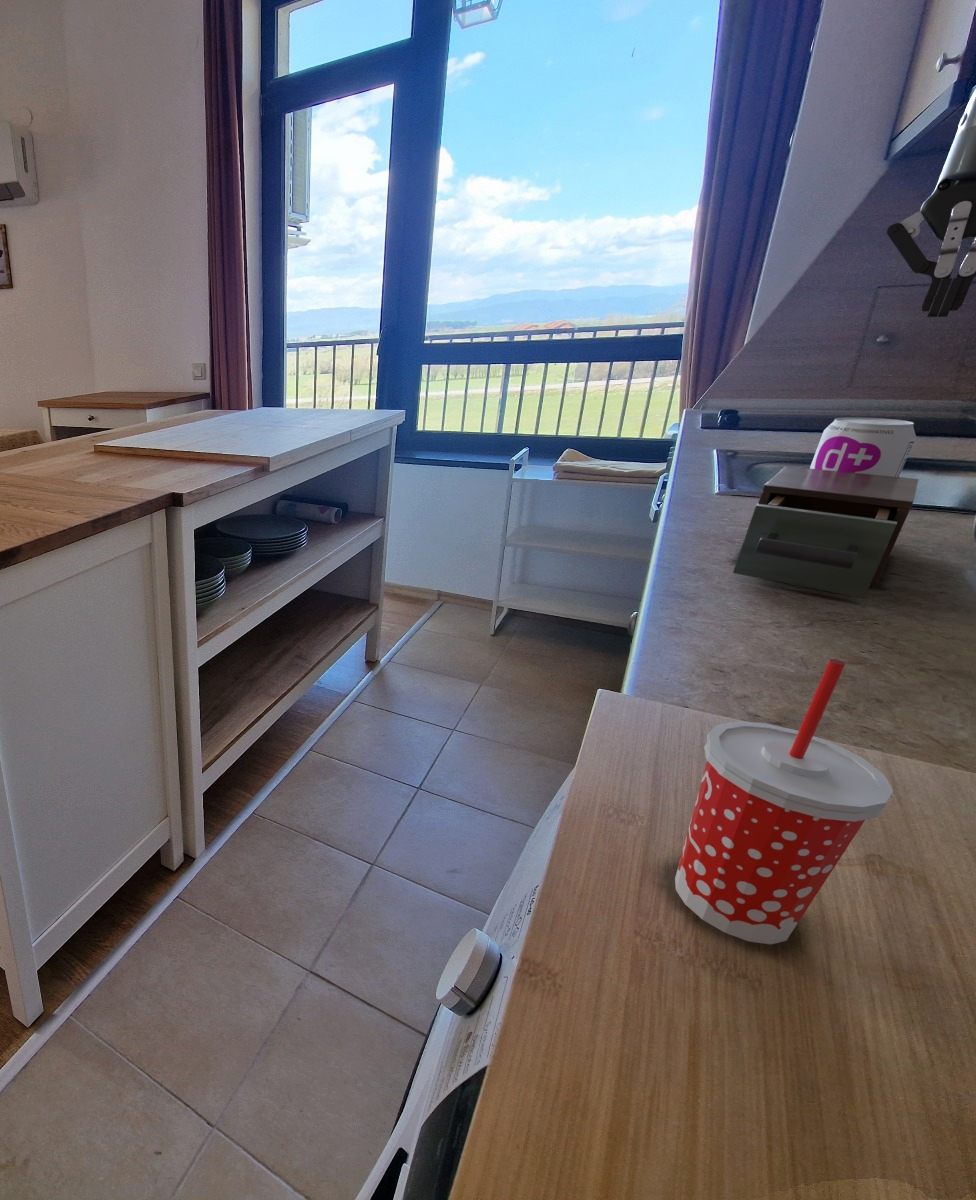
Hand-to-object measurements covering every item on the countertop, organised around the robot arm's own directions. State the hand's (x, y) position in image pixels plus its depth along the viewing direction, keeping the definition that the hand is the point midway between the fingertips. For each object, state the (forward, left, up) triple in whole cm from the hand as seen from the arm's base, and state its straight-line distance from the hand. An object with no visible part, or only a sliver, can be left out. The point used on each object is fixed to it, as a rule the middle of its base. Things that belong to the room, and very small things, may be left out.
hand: (936, 316), depth 67 cm
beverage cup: (+45, +59, -27) cm, 79 cm away
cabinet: (+5, +2, -27) cm, 27 cm away
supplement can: (-4, -9, -27) cm, 29 cm away
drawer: (+12, +11, -26) cm, 31 cm away
